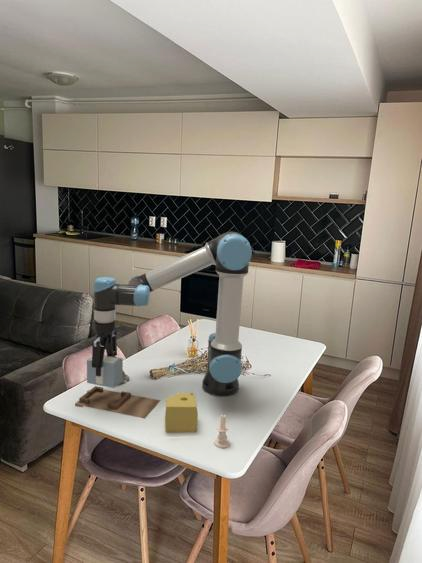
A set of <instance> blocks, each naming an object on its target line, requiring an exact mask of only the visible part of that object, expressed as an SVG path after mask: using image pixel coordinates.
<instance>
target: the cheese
mask: <svg viewBox="0 0 422 563" xmlns="http://www.w3.org/2000/svg"><path fill="white" fill-rule="evenodd" d="M165 401H166V402H165V403H166V404H165V414H164V424H165V425H164V428H165V432H166V433H188V432H189V433H196V431H197V427H198V421H199V420H198V418H199V417H198V416H199V415H198V414H199V413H198V407H197V401H196V393H195V392H193V393H192V392H177V393H175V394H174V395H173V396H168V397H166V400H165Z"/></svg>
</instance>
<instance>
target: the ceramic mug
mask: <svg viewBox="0 0 422 563" xmlns="http://www.w3.org/2000/svg"><path fill="white" fill-rule="evenodd" d="M128 381H130V376H129V375H128V374H126V373H125V371H124V370H123V377H122V382H120V383H119V384H118V385H117V386H120V385H122V384H123V383H124V382H128Z"/></svg>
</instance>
